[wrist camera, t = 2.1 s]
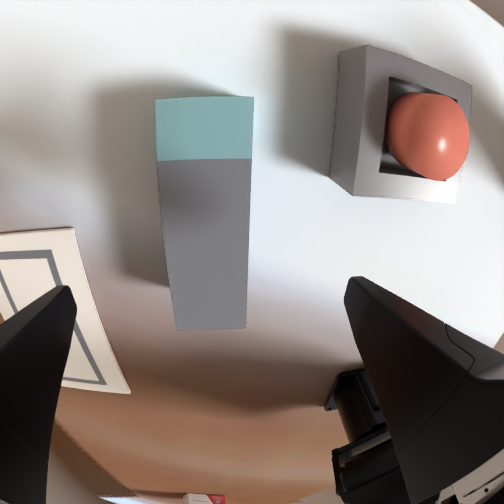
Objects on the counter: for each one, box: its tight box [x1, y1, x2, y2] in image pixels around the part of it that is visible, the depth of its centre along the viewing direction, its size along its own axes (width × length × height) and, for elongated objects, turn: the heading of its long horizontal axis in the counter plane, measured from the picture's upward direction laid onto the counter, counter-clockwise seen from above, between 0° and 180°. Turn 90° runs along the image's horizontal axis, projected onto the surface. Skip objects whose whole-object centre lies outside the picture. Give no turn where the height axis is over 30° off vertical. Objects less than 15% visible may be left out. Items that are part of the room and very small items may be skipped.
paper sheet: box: [0, 228, 131, 394], centre depth 18 cm, size 16×10×1 cm, turn 178°
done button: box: [385, 92, 470, 181], centre depth 11 cm, size 4×4×2 cm
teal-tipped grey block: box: [155, 96, 254, 331], centre depth 14 cm, size 11×4×4 cm, turn 178°
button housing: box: [329, 45, 472, 204], centre depth 13 cm, size 7×7×3 cm
